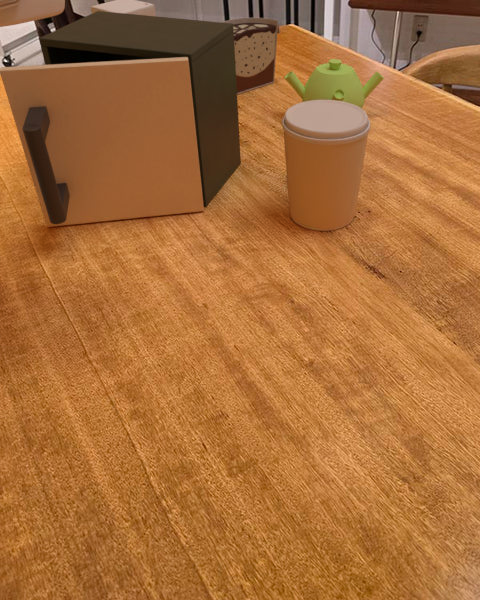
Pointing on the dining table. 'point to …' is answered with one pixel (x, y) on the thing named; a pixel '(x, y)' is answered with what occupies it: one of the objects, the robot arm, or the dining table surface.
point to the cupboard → (169, 44)
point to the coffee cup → (324, 161)
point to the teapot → (334, 84)
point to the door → (108, 138)
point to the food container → (254, 52)
